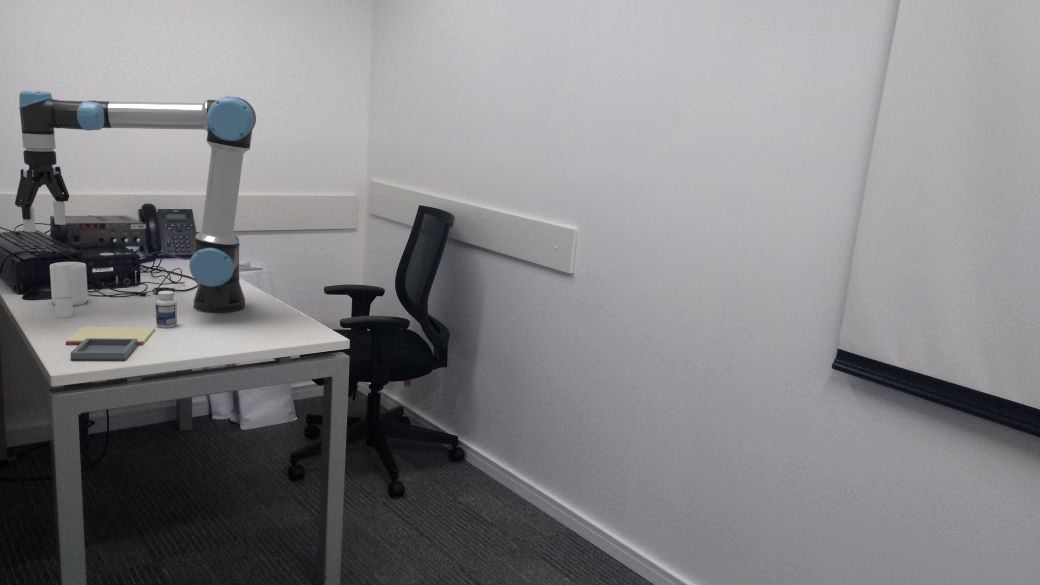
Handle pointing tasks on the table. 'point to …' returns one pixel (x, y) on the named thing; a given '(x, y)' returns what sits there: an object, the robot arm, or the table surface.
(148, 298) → the table surface
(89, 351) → the tray
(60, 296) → the tube
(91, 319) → the table surface
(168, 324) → the pill bottle
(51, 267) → the mug
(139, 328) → the notepad
